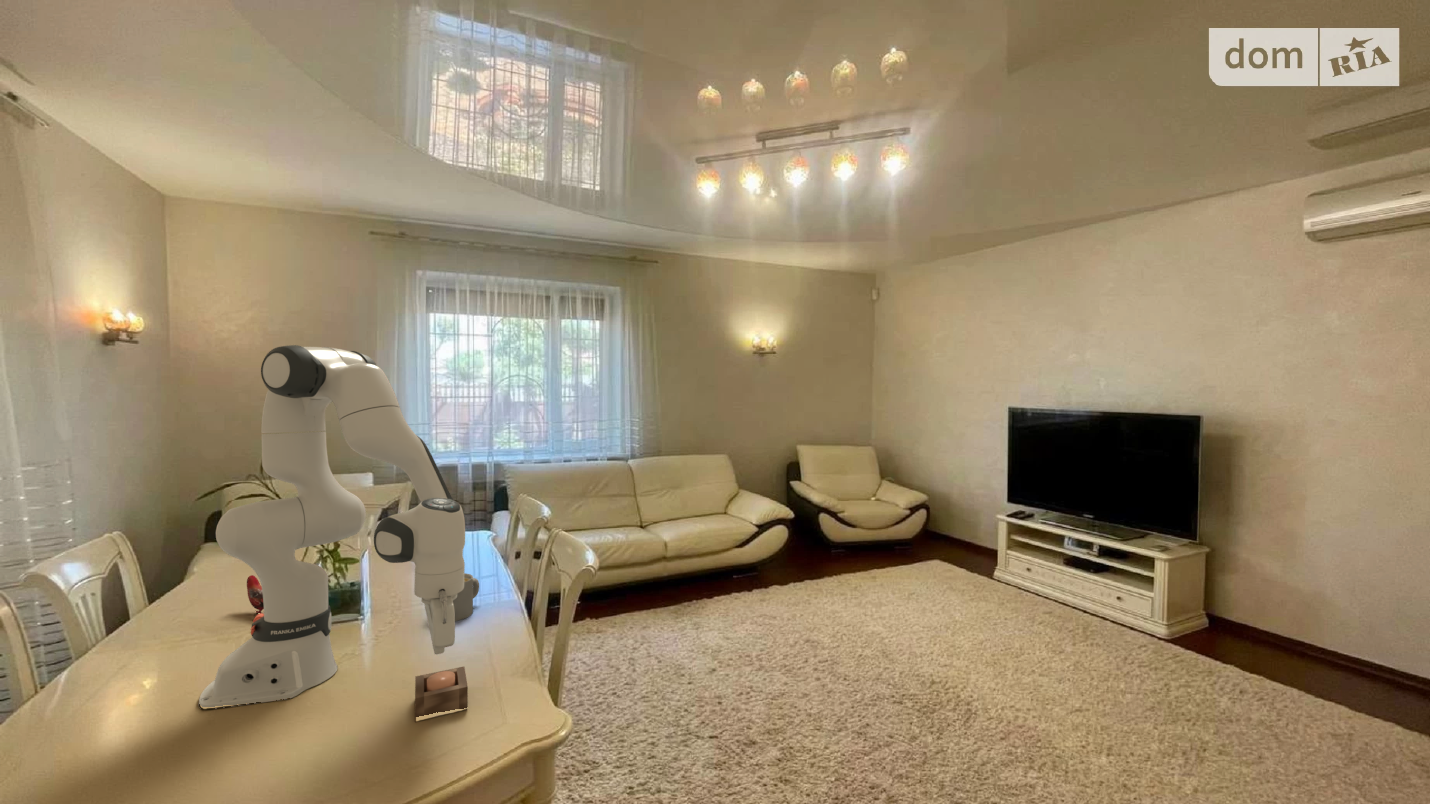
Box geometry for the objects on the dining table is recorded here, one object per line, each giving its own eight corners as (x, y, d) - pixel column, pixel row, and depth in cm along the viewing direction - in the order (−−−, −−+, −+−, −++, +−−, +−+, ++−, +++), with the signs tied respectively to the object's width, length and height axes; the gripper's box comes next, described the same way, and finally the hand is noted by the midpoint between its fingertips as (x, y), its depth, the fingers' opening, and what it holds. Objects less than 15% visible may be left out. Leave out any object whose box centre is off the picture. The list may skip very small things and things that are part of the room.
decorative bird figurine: (254, 607, 157) (254, 572, 157) (282, 621, 148) (282, 583, 148) (241, 610, 154) (241, 575, 154) (269, 624, 145) (269, 587, 145)
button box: (415, 722, 103) (415, 698, 103) (415, 698, 111) (415, 676, 111) (467, 709, 107) (467, 686, 107) (464, 687, 115) (464, 666, 115)
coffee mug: (445, 625, 146) (445, 587, 146) (426, 616, 152) (426, 580, 152) (491, 609, 157) (491, 574, 157) (471, 601, 163) (471, 567, 163)
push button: (427, 707, 106) (427, 686, 106) (426, 694, 110) (426, 674, 110) (455, 700, 108) (455, 680, 108) (454, 688, 113) (454, 668, 112)
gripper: (464, 597, 102) (462, 671, 102) (451, 564, 119) (450, 627, 119) (425, 603, 98) (424, 679, 99) (418, 568, 116) (417, 633, 116)
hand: (438, 650), depth 109 cm, fingers closed
